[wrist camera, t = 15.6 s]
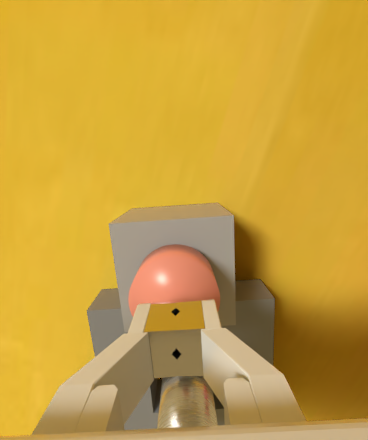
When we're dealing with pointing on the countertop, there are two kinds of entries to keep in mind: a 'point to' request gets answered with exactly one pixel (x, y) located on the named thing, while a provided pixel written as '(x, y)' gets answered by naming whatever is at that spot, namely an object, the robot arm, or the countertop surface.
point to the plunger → (173, 278)
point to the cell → (186, 403)
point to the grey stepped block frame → (223, 271)
